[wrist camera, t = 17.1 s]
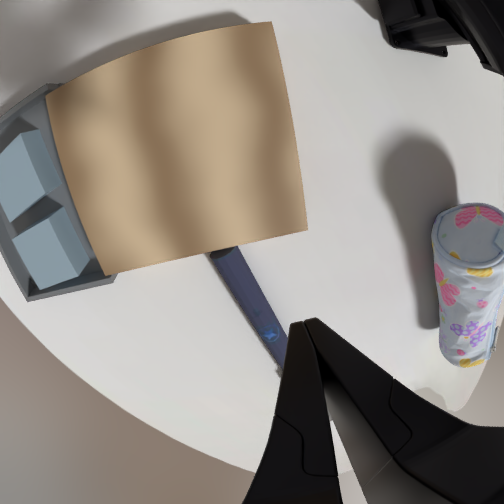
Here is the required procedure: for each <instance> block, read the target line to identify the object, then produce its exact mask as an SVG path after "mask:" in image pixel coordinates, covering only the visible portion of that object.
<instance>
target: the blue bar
mask: <svg viewBox="0 0 504 504" xmlns="http://www.w3.org/2000/svg"><path fill="white" fill-rule="evenodd" d="M210 257H211V259H212V260H213V262H214V264H215V265H216V267H217V269H218V270H219V272H220V273H221V275H222V277H223V278H224V280H225V282H226V283H227V285H228V286H229V288H230V290H231V291H232V293H233V294H234V296H235V298H236V299H237V301H238V302H239V304H240V305H241V307H242V309H243V310H244V312H245V313H246V315H247V316H248V318H249V319H250V321H251V323H252V324H253V326H254V327H255V329H256V330H257V332H258V333H259V335H260V336H261V338H262V339H263V341H264V342H265V344H266V345H267V347H268V349H269V350H270V352H271V353H272V355H273V356H274V358H275V359H276V360H277V362H278V363H279V365H280V366H281V368H282V369H283V364H284V359H285V353H286V347H287V341H288V337H287V336H286V334H285V332H284V330H283V328H282V327H281V325H280V323H279V321H278V319H277V318H276V316H275V314H274V312H273V310H272V308H271V307H270V305H269V303H268V301H267V299H266V298H265V296H264V294H263V292H262V290H261V288H260V287H259V285H258V283H257V281H256V279H255V277H254V276H253V274H252V272H251V270H250V268H249V266H248V265H247V263H246V261H245V259H244V257H243V255H242V254H241V252H240V250H239V248H238V246H233V247H229V248H224V249H220V250H215V251H212V252H211V254H210ZM327 409H328V408H327ZM328 415H329V421H332V417H331V415H330V413H329V410H328Z"/></svg>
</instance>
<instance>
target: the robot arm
mask: <svg viewBox="0 0 504 504" xmlns="http://www.w3.org/2000/svg"><path fill="white" fill-rule="evenodd" d="M378 1H379V5H380V8H381V11H382V14H383V18H384V22H385V24H386V28H387V32H388V36H389V40H390V44H391V45H392V47H394V48H396V49H403V50H409V51H415V52H420V53H426V54H430V55H435V56H440V57H447V56H448V52H447V47H446V46H449V45H460V44H471V46H472V47H473V49H474V51H475V52H476V54H477V56H478V57H479V59H480V63H481V64H482V66H483V68H484V69H487V70H490V71H493V72H495V73H498V74H500V75H503V76H504V0H378ZM395 41H396V42H397V43H398V44H396V43H395ZM442 51H443V52H442ZM327 408H328V409H327ZM328 410H329V413H330V415H331V417H332V420H333V422H334V424H335V427H336V429H337V431H338V434H339V436H340V439H341V441H342V443H343V446H344V448H345V450H346V453H347V455H348V458H349V460H350V462H351V465H352V467H353V469H354V472H355V474H356V477H357V479H358V481H359V484H360V486H361V488H362V491H363V494H364V496H365V498H366V501H367V503H368V504H504V427H489V426H477V425H473V424H469V423H467V422H464V421H462V420H460V419H458V418H457V417H455V416H453V415H451V414H449V413H447V412H446V411H444V410H442V409H440V408H439V407H437V406H435V405H433V404H431V403H430V402H428V401H426V400H425V399H423V398H421V397H420V396H418V395H417V394H415V393H414V392H412V391H411V390H410V389H408V388H407V387H405V386H404V385H403V384H401V383H400V382H399V381H398V380H396V379H393V377H392V376H391V375H390V374H388V373H387V372H386V371H385V370H383V369H382V368H381V367H379V366H378V365H377V364H376V363H374V362H373V361H372V360H370V359H369V358H368V357H367V356H365V355H364V354H363V353H361V352H360V351H359V350H358V349H356V348H355V347H354V346H352V345H351V344H350V343H349V342H347V341H346V340H345V339H343V338H342V337H341V336H340V335H338V334H337V333H336V332H335V331H333V330H332V329H331V328H329V327H328V326H327V325H326V324H324V323H323V322H322V321H321V320H319V319H318V318H316V317H314V318H311V319H307V320H305V321H304V322H303V321H299V322H295V323H291V324H290V328H289V334H288V341H287V347H286V353H285V359H284V364H283V370H282V376H281V381H280V387H279V392H278V397H277V403H276V408H275V413H274V415H275V416H274V417H273V422H272V426H271V431H270V434H269V438H268V442H267V445H266V448H265V451H264V454H263V457H262V459H261V462H260V464H259V467H258V469H257V472H256V474H255V476H254V479H253V481H252V484H251V486H250V488H249V490H248V492H247V495H246V497H245V499H244V501H243V502H242V504H343V502H342V497H341V492H340V486H339V479H338V471H337V464H336V458H335V451H334V445H333V439H332V433H331V427H330V421H329V415H328Z"/></svg>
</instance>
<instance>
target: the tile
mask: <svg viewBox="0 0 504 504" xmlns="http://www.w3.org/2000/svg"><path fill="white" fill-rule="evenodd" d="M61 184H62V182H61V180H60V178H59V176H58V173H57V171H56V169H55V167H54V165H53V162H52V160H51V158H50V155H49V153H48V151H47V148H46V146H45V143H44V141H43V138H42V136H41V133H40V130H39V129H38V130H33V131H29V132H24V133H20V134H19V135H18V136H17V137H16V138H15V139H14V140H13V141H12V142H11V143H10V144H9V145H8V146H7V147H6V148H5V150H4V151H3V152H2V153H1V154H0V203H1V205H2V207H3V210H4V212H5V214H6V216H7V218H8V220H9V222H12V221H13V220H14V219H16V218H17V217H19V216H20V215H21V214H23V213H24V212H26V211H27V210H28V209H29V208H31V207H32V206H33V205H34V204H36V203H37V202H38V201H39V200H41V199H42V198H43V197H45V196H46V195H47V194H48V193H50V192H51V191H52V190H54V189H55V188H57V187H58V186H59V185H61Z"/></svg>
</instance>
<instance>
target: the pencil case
mask: <svg viewBox="0 0 504 504" xmlns="http://www.w3.org/2000/svg"><path fill="white" fill-rule="evenodd" d="M431 239H432V248H433V251H434V269H435V279H436V285H437V292H438V300H439V317H440V328H439V346H440V350H441V352H442V354H443V356H444V357H445V358H446V359H447V360H448V361H449V362H450V363H452V364H453V365H455V366H458V367H463V368H466V367H472V366H475V365H478V364H481V363H483V362H484V361H486V360H489V359H490V356H491V353H492V352H495V350H496V347H495V346H496V342H497V338H498V333H499V328H500V327H499V326H497V328H496V329H495V326H496V318H497V312H498V309H499V306H500V303H501V300H502V297H503V294H504V213H503V212H502V211H501V210H499V209H498V208H496V207H494V206H491V205H488V204H484V203H466V204H461V205H457V206H455V207H452V208H450V209H448V210H446V211H443V212H441V213H440V214H438V216H437V217H436V220H435V222H434V225H433V228H432V234H431Z"/></svg>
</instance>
